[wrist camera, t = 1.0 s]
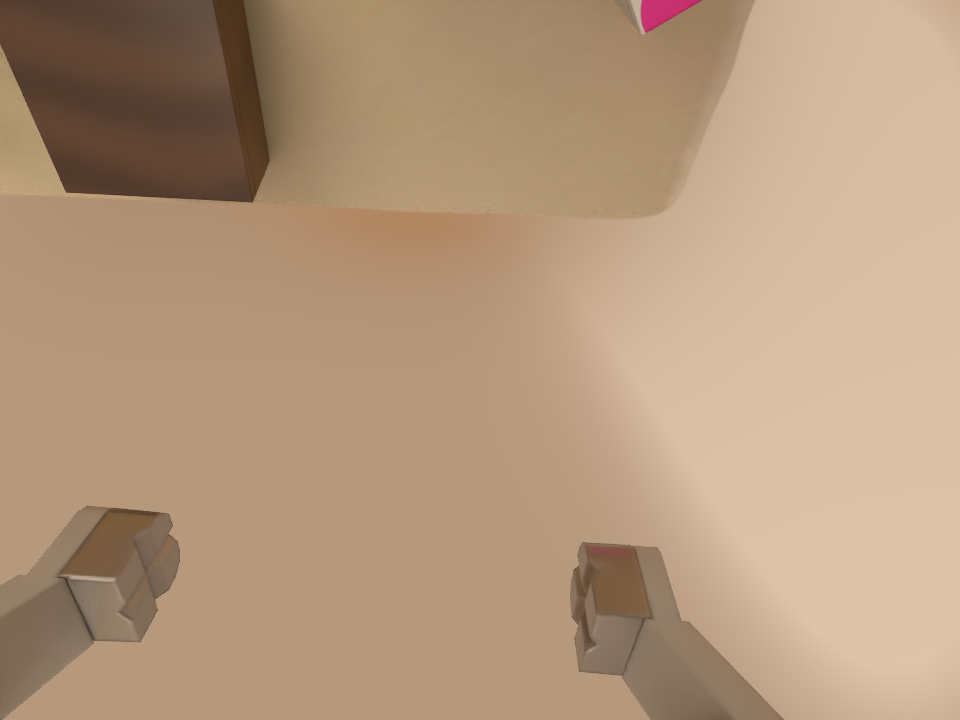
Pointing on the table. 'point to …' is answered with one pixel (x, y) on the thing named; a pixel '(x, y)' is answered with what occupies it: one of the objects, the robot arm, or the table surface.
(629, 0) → the supplement box
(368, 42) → the table surface
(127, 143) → the shelf
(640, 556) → the robot arm
